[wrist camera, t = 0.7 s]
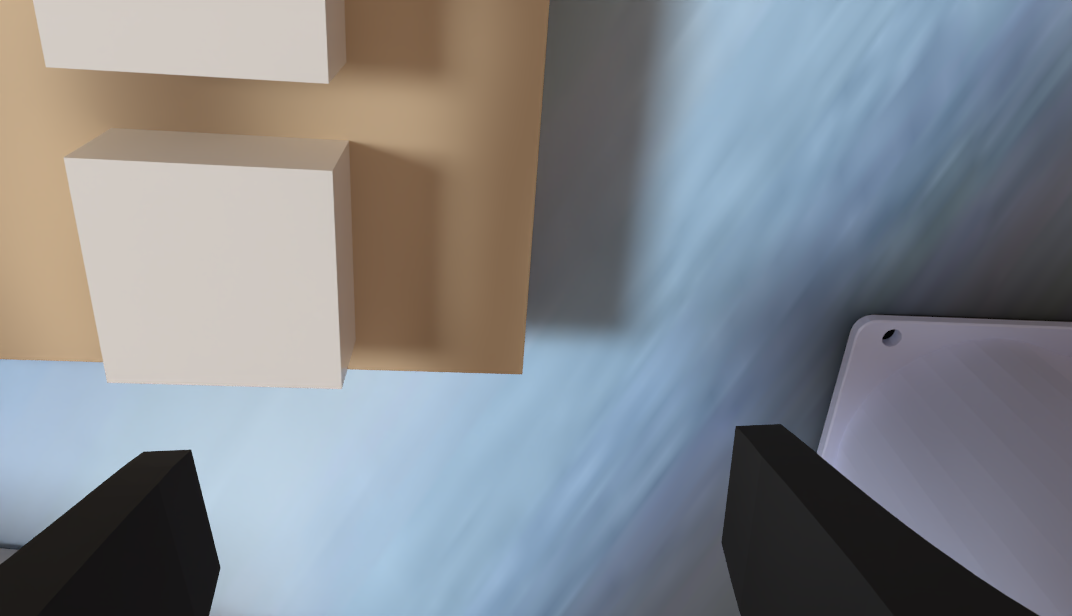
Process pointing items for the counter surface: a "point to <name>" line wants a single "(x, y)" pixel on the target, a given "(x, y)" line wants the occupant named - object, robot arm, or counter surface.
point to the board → (375, 174)
